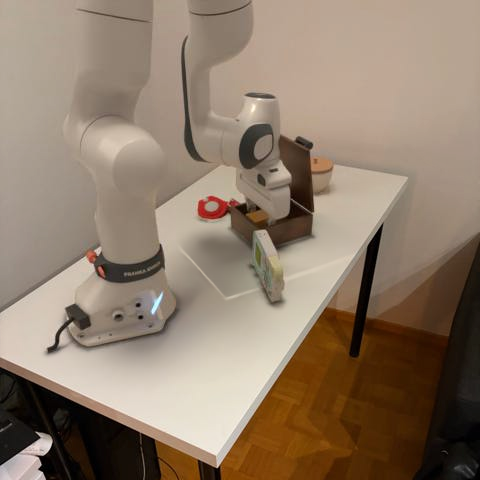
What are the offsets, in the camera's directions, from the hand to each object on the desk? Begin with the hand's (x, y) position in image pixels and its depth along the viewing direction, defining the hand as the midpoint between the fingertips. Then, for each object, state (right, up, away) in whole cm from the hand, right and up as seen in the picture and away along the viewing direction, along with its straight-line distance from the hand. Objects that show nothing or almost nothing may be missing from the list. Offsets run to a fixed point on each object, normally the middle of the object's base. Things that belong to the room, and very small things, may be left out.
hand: (260, 219), depth 121 cm
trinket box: (+17, +14, +24) cm, 33 cm away
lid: (+8, +11, -3) cm, 14 cm away
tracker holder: (-11, +4, +13) cm, 17 cm away
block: (0, -3, +2) cm, 4 cm away
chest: (+3, -3, +4) cm, 5 cm away
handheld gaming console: (+1, -17, -14) cm, 22 cm away
